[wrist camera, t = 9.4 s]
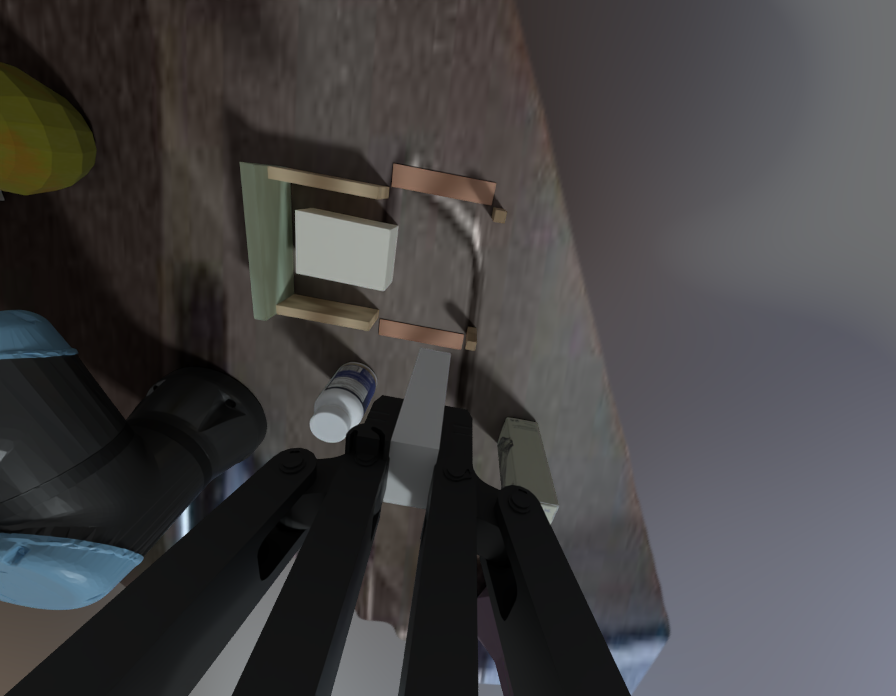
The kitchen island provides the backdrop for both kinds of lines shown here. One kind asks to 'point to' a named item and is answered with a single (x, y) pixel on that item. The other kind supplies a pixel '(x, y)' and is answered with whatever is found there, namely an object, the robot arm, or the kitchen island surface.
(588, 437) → the kitchen island surface
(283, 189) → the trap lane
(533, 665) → the robot arm
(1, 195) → the white tray
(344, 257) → the cream block
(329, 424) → the pill bottle
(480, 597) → the flask
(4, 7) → the kitchen island surface
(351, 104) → the kitchen island surface
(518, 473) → the box
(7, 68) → the apple
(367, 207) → the kitchen island surface
